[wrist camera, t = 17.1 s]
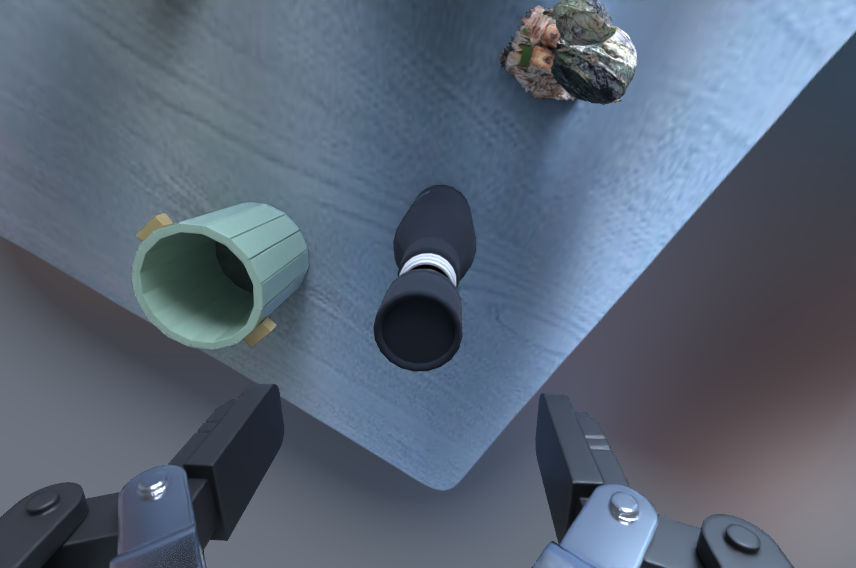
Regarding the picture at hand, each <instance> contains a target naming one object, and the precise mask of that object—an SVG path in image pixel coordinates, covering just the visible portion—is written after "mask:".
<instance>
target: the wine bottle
mask: <svg viewBox="0 0 856 568" xmlns="http://www.w3.org/2000/svg"><path fill="white" fill-rule="evenodd" d="M393 244H394V255H395V261H396V264H397V266H398V268H399V270H398V278H396V279H395V280H394V281H393V282H392V284H391V285H390V287H389V289H388V290H387V292H386V294H385V296H384V299H383V301H382V303H381V305H380V308H379V310H378V312H377V314H376V318H375V323H374V336H375V341H376V343H377V345H378V347H379V349H380V352H381V353H382V354H383V355H384V356H385V357H386V358H387V359H388V360H389V361H390V362H392V363H393V364H395V365H397V366H398V367H400V368H403V369H407V370H411V371H429V370H432V369H435V368H439V367H441V366H442V365H444V364H445V363H447V362H448V361H450V360H451V359H452V357H453V356H454V355H455V353H456V352H457V351H458V349H459V347H460V343H461V340H462V337H463V334H462V306H461V297H460V294H459V292H458V289H457V288H458V285H459V281H460V280H461V279H462V278H463V277H464V275H465V274H466V272H467V271H468V270H469V268H470V267H471V265H472V263H473V260H474V256H475V253H476V236H475V231H474V226H473V221H472V216H471V211H470V207H469V205H468V202H467V200H466V198H465V197H464V196H463V195H462V193H461V192H459V191H458V190H456V189H455V188H453V187H450V186H446V185H434V186H432V187H429V188H427V189H425V190H424V191H423V192H421V193H420V194H419V195H418V196H417V198H416V199H415V201H414V203H413V204H412V206H411V207H410V209H409V210H408V212H407V213H406V215H405V216H404V218H403V219H402V221H401V223H400V224H399V226H398V228H397V229H396V233H395V237H394V241H393Z"/></svg>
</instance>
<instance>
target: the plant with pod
mask: <svg viewBox="0 0 856 568" xmlns="http://www.w3.org/2000/svg"><path fill="white" fill-rule="evenodd" d="M529 10H530V11H532V12H533V13H531V12H526V18H519V19H520V20H521V21H523V22H524V23H525V24H526V25H521V26H518V27H519V28H520V30H521V31H516V35H515V38H514V37H512V36H511V42H509V46H506V47H507V49H508V50H507V49H504V53H501V54H500V61H501V63H500V64H502V67H504V68H505V69H507V71H508V73H511V74H512V76H514V77H515V79H516V80H518V82H519V83H520V84H521V85H522V87H523V88H524V87H525V86H526V91H525V93H527V92H528V91H529V90H530V89H531V92H530V96H532V97H534V98H536V97H537V96H538V98H539V99H540V98H541V99H543V98H545V99H546V98H547V97H548V99H549V97H551V98H552V99H554V98H556V100H557V101H558V99H560V100H561V99H563V101H564V98H565V99H566V100H568V99H569V101H570V98H571V99H572V100H573V102H574V99H575V98H577V99H580V100H584V101H589V102H591V103H600V104H602V105H604V104H608V103H612V102H615V103H618V102H620V101H621V100H619V99H620V97H621V96H623V95H624V93H625V91H626V88H627V86H628V85H629V83H630V82H631V80H632V78H633V76H634V72H635V69H636V66H637V53H636V48H635V47H634V44H633V43H632V41H631V39H630V38H629V36H628V35H627V34H626V33H625V32H624V31H623V30H621V29H619V28H617V27H614V26H613V24H612V19H611V17H610V15H609V13H608V12H607V11H606V9H605V7H604V5H603V4H602V3H601V2H599V1H598V0H562V1H561V2H559V3H558V4H556V5H555V7H554V9H549V8H548V9H547V10H546V11H545V7H543V8H541V7H540V6H539V5H538V6H536V7H535V8H533V9H529ZM507 71H506V72H507Z"/></svg>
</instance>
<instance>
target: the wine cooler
mask: <svg viewBox="0 0 856 568" xmlns="http://www.w3.org/2000/svg"><path fill="white" fill-rule="evenodd" d="M136 236H137V237H138V238H139V239H140V240H141V241H142V244H141V245H140V246H139V247H138V249H137V251H136V255H135V258H134V261H133V265H132V268H131V270H132V271H131V276H132V283H133V290H134V295H135V297H136V299H137V301H138V303H139V305H140V306H141V308H142V310H143V312H144V314H145V315H146V317H147V318H148V317H149V318H148V320H149V321H151V322H152V323H153V324H154V325H155V326H156V327H157V328H158V329H159V330H160V331H161V332H162V333H163V334H165V335H166V336H167V335H168V337H169V338H171V339H173V340H175V341H177V342H180V343H182V344H184V345H186V346H188V347H192V348H201V349H210V350H217V349H221V348H224V347H228V346H232V345H235V344H237V343H239V342H240V341H241V340H244V341H245V342H246V343H247V344H248V345H249V346H250V347H251V348H252V347H254V346H255V345H256V344H257V343H258V342H260V341H261V340H262V339H263V338H264V337H265V336H267V335H268V334H269V333H270V332H271V331H272V330H273V329H274V328H275V327H276V326H277V325H276V324H275V323H274V322H273V321H272V320H271V319H270V318H269V317H268V316H269V315H270V314H271V313H272V312H273V311H274V310H275V309H276V308H277V307H278V306H279V305H280V304H282V303H283V302H284V301H285V300H286V299H287V298H288V297H289V296H290V295H291V294H292V293H293V292H294V291H295V290H296V289H297V288H298V287H299V286H300V285H301V284H302V282H303V280H304V277H305V275H306V273H307V271H308V247H307V245H306V242H305V240H304V237H303V235H302V232H301V230H300V229H299V228H298V227H297V225H296V224H295V223H294V222H293V221H292V220H291V219H290V218H289V217H288V216H287V215H285V213H283V212H281V211H279V210H278V209H276V208H274V207H272V206H270V205H268V204H267V205H266V204H261V203H251V202H244V203H241V204H238V205H234V206H231V207H228V208H225V209H221V210H218V211H215V212H211V213H208V214H205V215H201V216H198V217H195V218H192V219H188V220H185V221H182V222H178V223H175V224H174V222H173V221H172V220H171V219H170V218H169V217H168V216H167V215H166V214H165V213H163V214H159V215H156V216H154V217H153V218H152V219H151V220H150V221H149V222H148V223H147V224H146V225H145V226H144V227H143V228H142V229H141V230H140V232H139V233H138V234H137V235H136ZM215 241H218V242H220V243H222V244H224V245H226V246H227V247H228V248H229V249H230V250H231V251H232V252H233V253H234V254H235V255H236V256H237V257H238V258H239V259H240V260H241V262H242V263H243V264H244V266H245V268H246V270H247V272H248V275H249V277H250V279H251V281H252V283H253V294H252V293H250V292H248V291H246V290H244V289H242V288H240V287H237V286H236V285H235V284H234V283H233V282H232V281H231V280H230V279H229V278H228V277H227V276H226V275H225V274H224V273H223V270H222V268H221V266H220V264H219V262H218V260H217V258H216V245H215Z"/></svg>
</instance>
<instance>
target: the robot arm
mask: <svg viewBox="0 0 856 568" xmlns="http://www.w3.org/2000/svg"><path fill="white" fill-rule="evenodd" d="M283 436H284V423H283V415H282V408H281V401H280V392H279V388H278V386H277V385H276V384H250V385H249V386H248V387H247V388H246V390H245V391H244V392H243V393H242V394H241V396H240V397H239V398H238V399H237V400H235V399H232V400H230V401H229V402H227V403H226V404H224V405H222V406H221V407H219V408H218V409H216V410H215V412H214V413H213V414H212V415H211V416H210V417H209V418H208V419H207V421H206V423H204V424H203V425H202V426H201V427H200V429H199V430H198V433H195V434H194V436H192V438H191V439H190V440H189V441H188V442H187V443H186V444H185V446H184V447H183V448H182V449H181V450H180V451H179V452H178V453H177V455H176V456H175V457H174V458H173V459H172V460H171V462H170V463H169V464H168V465H162V466H158V467H154V468H151V469H149V470H146V471H144V472H142V473H140V474H139V475H137V476H135V477H134V478H133V479H131V480H130V481H129V482H128V483H127V484H126V485H125V486H124V487H123V488H122V490H121V492H119V493H114V494H108V495H103V496H98V497H93V498H88V499H86V498H85V495H84V492H83V489H82V487H81V486H80V485H79V484H76V483H69V482H68V483H59V484H55V485H51V486H48V487H45V488H43V489H40V490H38V491H36V492H34V493H32V494H30V495H29V496H26V497H25V498H23V499H22V500H20V501H19V502H18V503H17V504H15V505H14V506H13V507H12V508H11V509H9V510H8V511H7V512H6V513H5V514H4V515H3V516H1V517H0V568H207V564H206V558H205V554H204V548H205V547H206V545H207V544H208V542H209V540H225V541H227V540H228V539H229V537H230V535H231V533H232V532H233V530H234V528H235V526H236V524H237V523H238V521H239V519H240V518H241V516H242V514H243V512H244V511H245V509H246V507H247V505H248V504H249V502H250V500H251V498H252V496H253V495H254V493H255V491H256V489H257V488H258V486H259V484H260V482H261V481H262V479H263V477H264V475H265V473H266V472H267V470H268V468H269V467H270V465H271V463H272V461H273V460H274V458H275V456H276V454H277V452H278V450H279V449H280V447H281V444H282V441H283ZM536 455H537V460H538V464H539V468H540V472H541V476H542V480H543V484H544V488H545V492H546V496H547V500H548V504H549V508H550V512H551V516H552V520H553V524H554V528H555V531H556V535H557V539H558V543H559V544H557V543H555V542H554V541H552V542H550V543H549V544H548V545H547V546H546V547H545V549H544V550H543V552H542V553H541V555H540V556H539V558H538V559H537V560H536V562H535V563H534V565H533V566H532V568H794V567H793V566H792V564H791V563H790V561H789V560H788V559H787V557H786V556H785V554H784V553H783V552H782V551H781V549H780V548H779V546H778V545H777V544H776V543H775V541H774V540H773V539H772V538H771V537H770V536H769V535H767V534H766V533H765V532H764V531H763V530H761V529H760V528H758V527H757V526H755V525H753V524H751V523H750V522H747V521H745V520H743V519H740V518H738V517H734V516H730V515H724V514H716V515H711V516H709V517H707V518H706V519H705V520H704V521H703V523H702V527H701V528H697V527H694V526H691V525H687V524H684V523H680V522H677V521H674V520H670V519H668V518H665V517H663V516H660V515H659V514H658V513H657V511H656V509H655V507H654V506H653V504H652V503H651V502H650V501H649V500H648V499H647V498H646V497H645V496H644V495H642V494H640V493H639V492H637V491H636V490H634V489H631V487H630V485H629V483H628V481H627V479H626V477H625V475H624V473H623V471H622V469H621V467H620V465H619V463H618V461H617V459H616V457H615V455H614V453H613V451H612V450H611V447H610V445H609V443H608V441H607V439H605V435H604V433H603V431H602V429H601V427H600V425H599V423H597V422H596V421H595V420H594V419H593V418H592V417H591V416H590V415H589V414H587V413H586V412H575V411H574V409H573V407H572V405H571V402H570V400H569V398H568V396H567V395H566V394H541V395H540V398H539V408H538V418H537V429H536Z"/></svg>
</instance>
